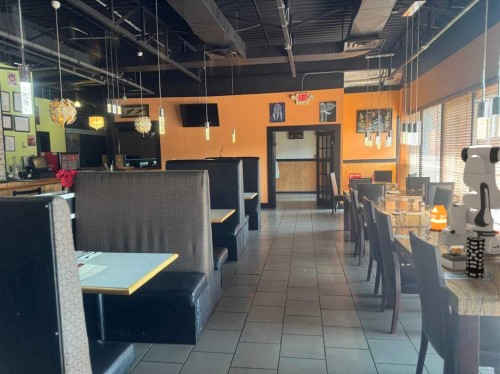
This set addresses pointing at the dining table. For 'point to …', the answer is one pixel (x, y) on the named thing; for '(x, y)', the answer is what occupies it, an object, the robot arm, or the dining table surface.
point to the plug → (456, 250)
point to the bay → (453, 265)
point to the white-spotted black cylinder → (475, 257)
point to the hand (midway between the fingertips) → (456, 252)
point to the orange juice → (438, 218)
